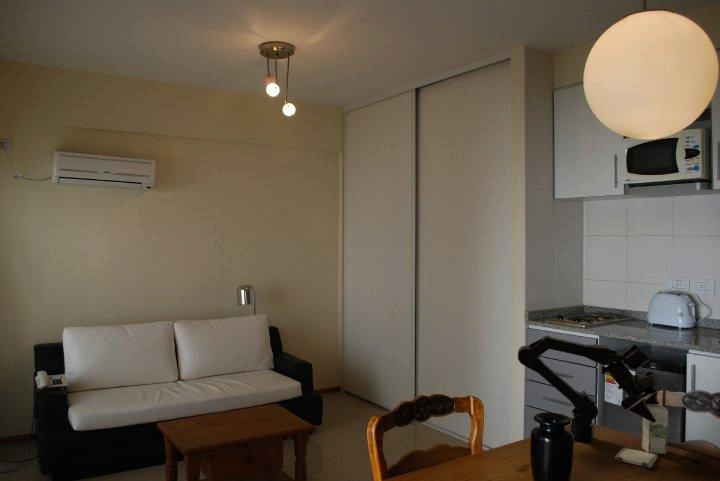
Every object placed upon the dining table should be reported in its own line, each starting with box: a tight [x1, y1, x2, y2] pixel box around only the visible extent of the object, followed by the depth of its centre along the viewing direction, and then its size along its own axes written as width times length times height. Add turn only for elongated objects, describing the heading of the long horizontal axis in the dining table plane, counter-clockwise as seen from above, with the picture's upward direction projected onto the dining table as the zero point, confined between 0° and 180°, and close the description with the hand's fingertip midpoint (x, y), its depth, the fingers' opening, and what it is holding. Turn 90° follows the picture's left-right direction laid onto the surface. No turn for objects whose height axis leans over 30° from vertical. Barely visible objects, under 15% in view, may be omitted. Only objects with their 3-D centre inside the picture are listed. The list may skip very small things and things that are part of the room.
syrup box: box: [641, 404, 669, 455], centre depth 188 cm, size 6×6×14 cm
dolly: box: [614, 446, 658, 469], centre depth 181 cm, size 10×11×2 cm
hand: (659, 419), depth 187 cm, fingers closed on syrup box, 8 cm apart
